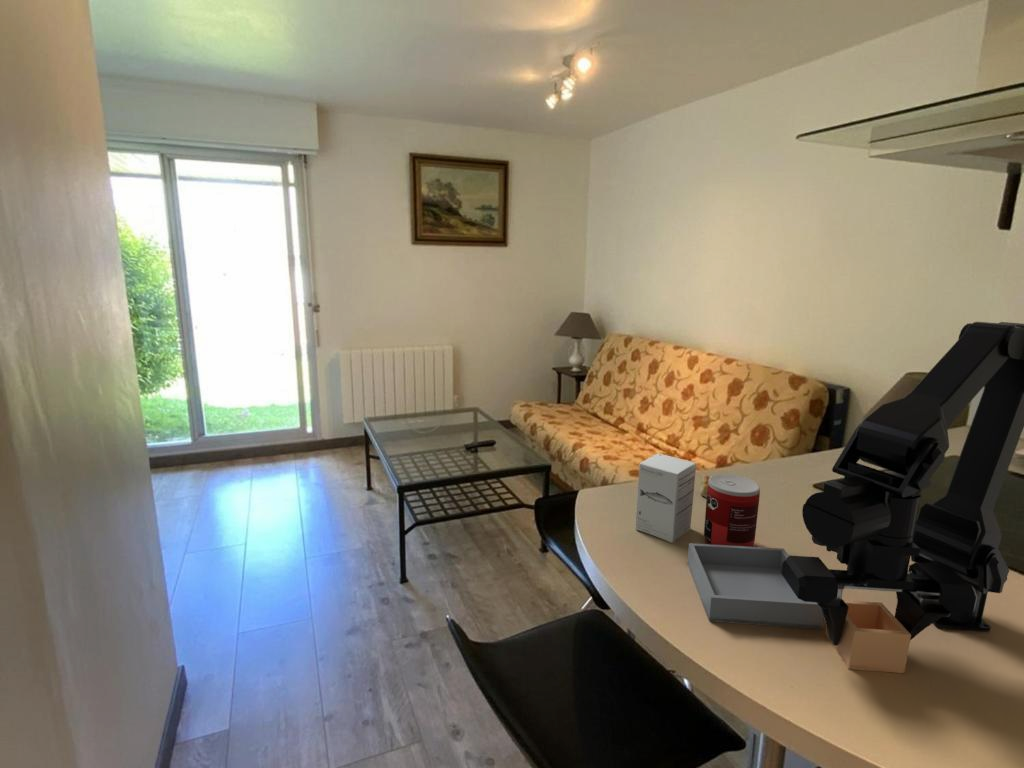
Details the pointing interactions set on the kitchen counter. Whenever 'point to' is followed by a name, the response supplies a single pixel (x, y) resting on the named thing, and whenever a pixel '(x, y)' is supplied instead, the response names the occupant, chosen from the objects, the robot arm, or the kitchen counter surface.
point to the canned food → (731, 510)
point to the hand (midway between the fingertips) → (863, 645)
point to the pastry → (704, 486)
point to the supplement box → (665, 496)
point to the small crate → (872, 639)
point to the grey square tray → (748, 587)
